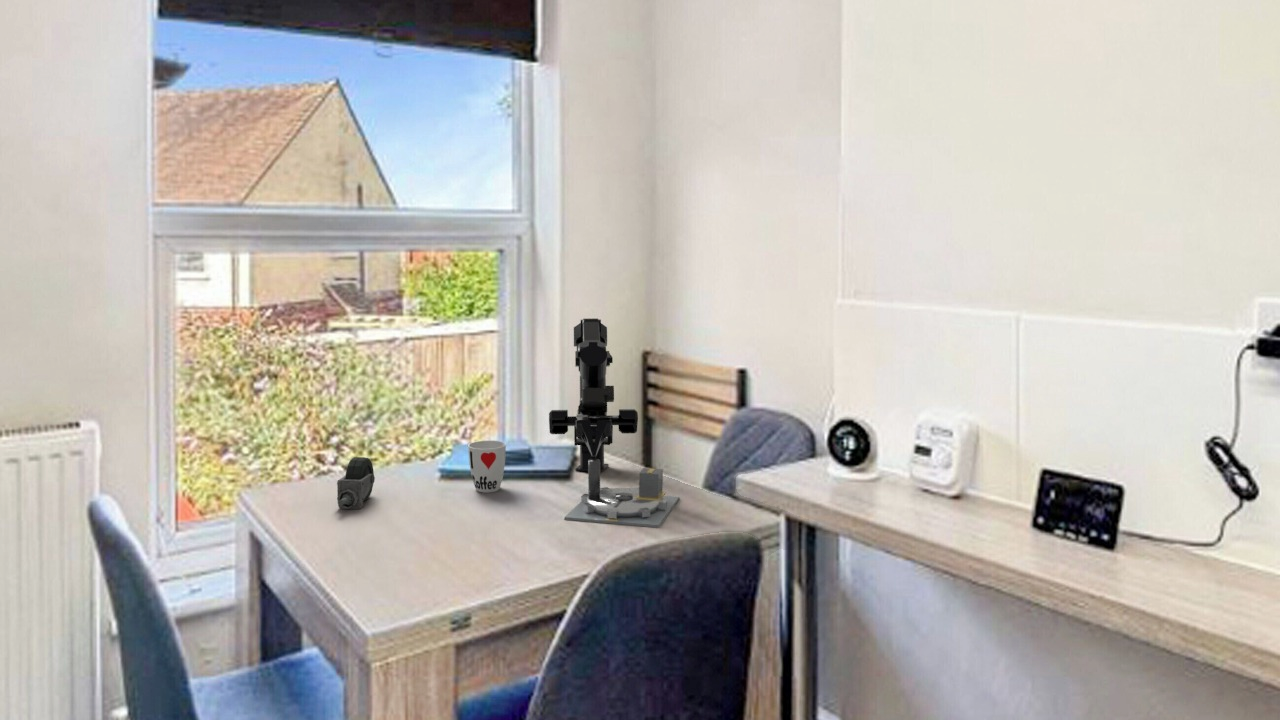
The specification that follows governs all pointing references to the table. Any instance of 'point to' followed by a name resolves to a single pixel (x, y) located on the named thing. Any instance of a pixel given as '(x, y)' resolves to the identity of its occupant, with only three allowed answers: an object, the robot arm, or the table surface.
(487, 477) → the cup
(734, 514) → the table surface
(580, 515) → the base plate
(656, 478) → the link block
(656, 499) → the sprocket
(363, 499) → the caster wheel
